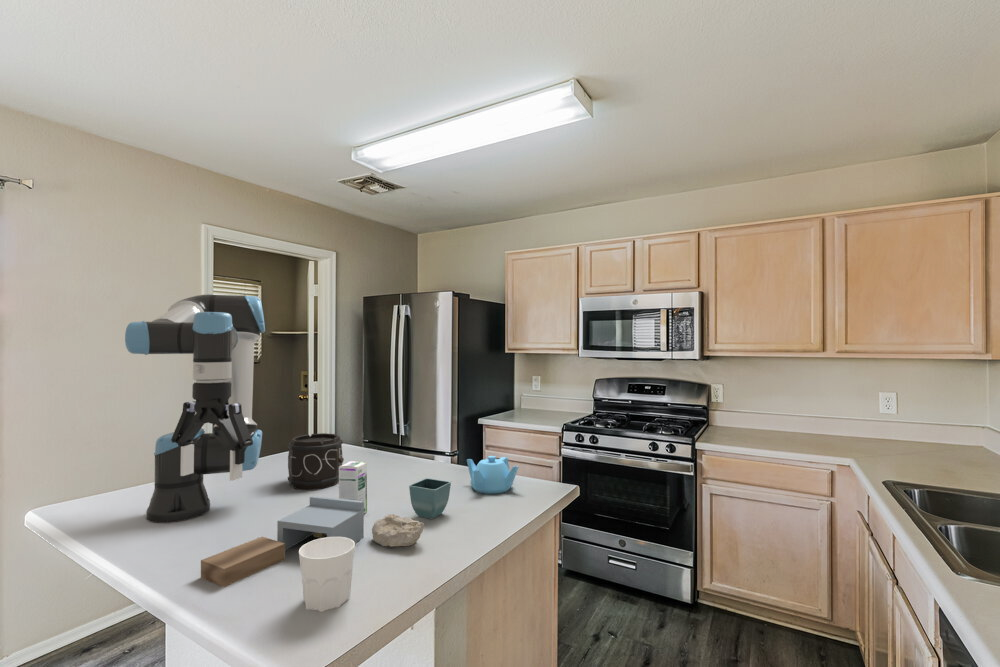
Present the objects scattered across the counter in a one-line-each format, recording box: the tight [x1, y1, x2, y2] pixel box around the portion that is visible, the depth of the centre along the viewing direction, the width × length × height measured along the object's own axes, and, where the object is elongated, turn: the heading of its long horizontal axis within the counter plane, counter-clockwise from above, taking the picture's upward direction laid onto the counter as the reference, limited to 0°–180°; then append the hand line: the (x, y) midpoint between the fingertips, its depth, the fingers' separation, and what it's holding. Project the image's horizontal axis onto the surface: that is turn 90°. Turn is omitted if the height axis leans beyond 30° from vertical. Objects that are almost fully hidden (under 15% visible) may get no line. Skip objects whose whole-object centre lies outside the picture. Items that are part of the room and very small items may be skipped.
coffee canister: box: [287, 432, 345, 491], centre depth 169 cm, size 18×18×16 cm
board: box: [200, 536, 286, 588], centre depth 105 cm, size 8×14×4 cm, turn 151°
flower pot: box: [408, 477, 452, 520], centre depth 138 cm, size 9×9×9 cm
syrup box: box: [338, 460, 368, 515], centre depth 138 cm, size 6×6×14 cm
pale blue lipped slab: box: [276, 495, 365, 551], centre depth 118 cm, size 15×13×9 cm
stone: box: [371, 513, 425, 547], centre depth 118 cm, size 8×12×10 cm, turn 63°
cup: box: [298, 536, 356, 613], centre depth 93 cm, size 10×10×10 cm
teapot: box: [466, 455, 519, 495], centre depth 163 cm, size 15×15×11 cm
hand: (211, 476), depth 109 cm, fingers open, 13 cm apart
